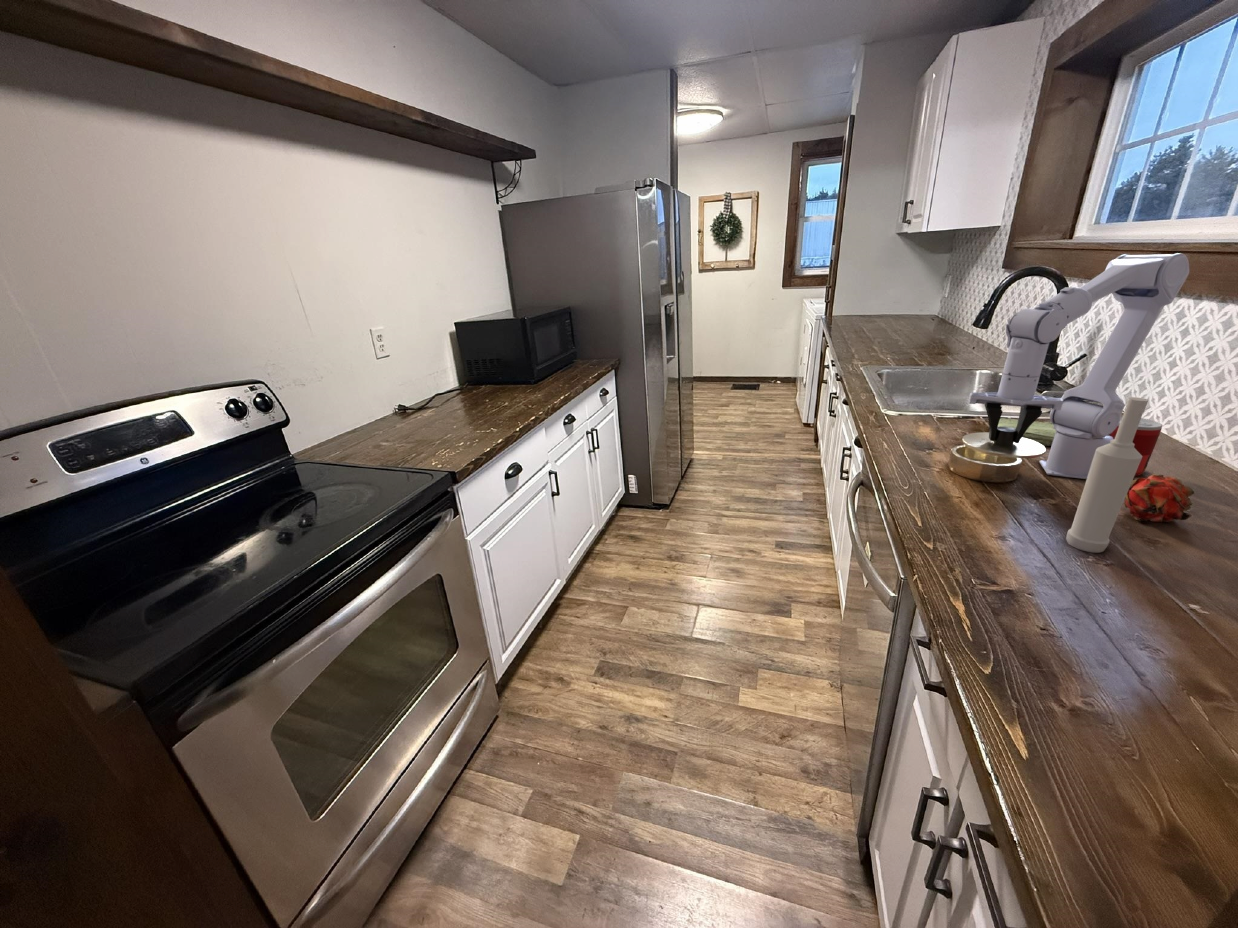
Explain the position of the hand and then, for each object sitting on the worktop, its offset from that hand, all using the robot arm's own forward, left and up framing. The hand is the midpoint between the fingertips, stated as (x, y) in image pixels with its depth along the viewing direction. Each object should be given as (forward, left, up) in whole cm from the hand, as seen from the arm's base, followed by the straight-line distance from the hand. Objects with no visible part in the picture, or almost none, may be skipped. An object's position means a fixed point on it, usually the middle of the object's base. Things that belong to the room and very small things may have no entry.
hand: (1003, 440), depth 101 cm
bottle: (-10, +22, -10) cm, 26 cm away
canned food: (-25, -18, -10) cm, 33 cm away
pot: (+1, -7, -10) cm, 12 cm away
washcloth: (-13, -36, -10) cm, 40 cm away
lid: (0, 0, -1) cm, 1 cm away
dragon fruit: (-23, +6, -10) cm, 26 cm away
